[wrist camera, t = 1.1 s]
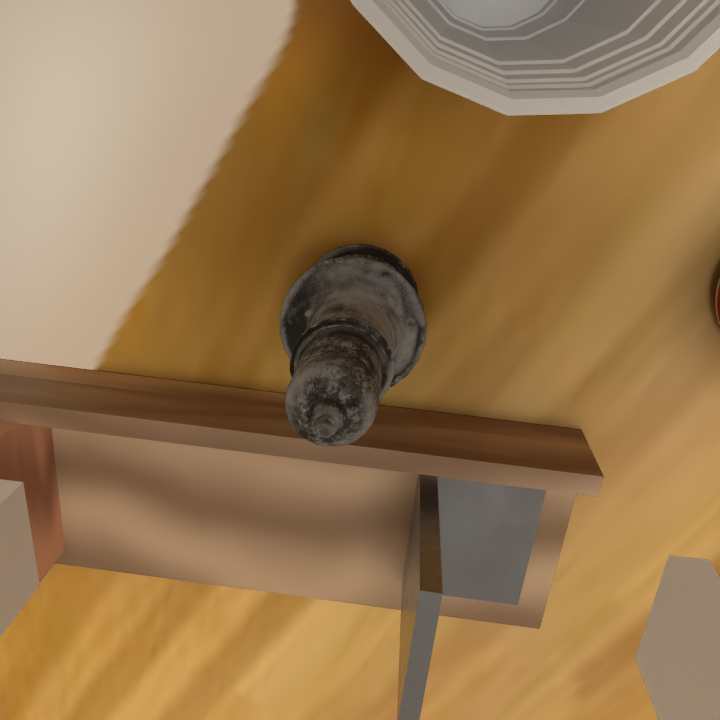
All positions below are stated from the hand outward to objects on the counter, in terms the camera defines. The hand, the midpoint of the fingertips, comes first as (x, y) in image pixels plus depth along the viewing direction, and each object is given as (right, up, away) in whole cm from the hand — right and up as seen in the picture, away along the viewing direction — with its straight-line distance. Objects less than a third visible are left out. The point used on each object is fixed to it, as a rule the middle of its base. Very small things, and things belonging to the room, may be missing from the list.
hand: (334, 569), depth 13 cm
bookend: (+6, -4, +18) cm, 19 cm away
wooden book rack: (-5, -2, +20) cm, 21 cm away
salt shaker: (+1, +7, +16) cm, 17 cm away
